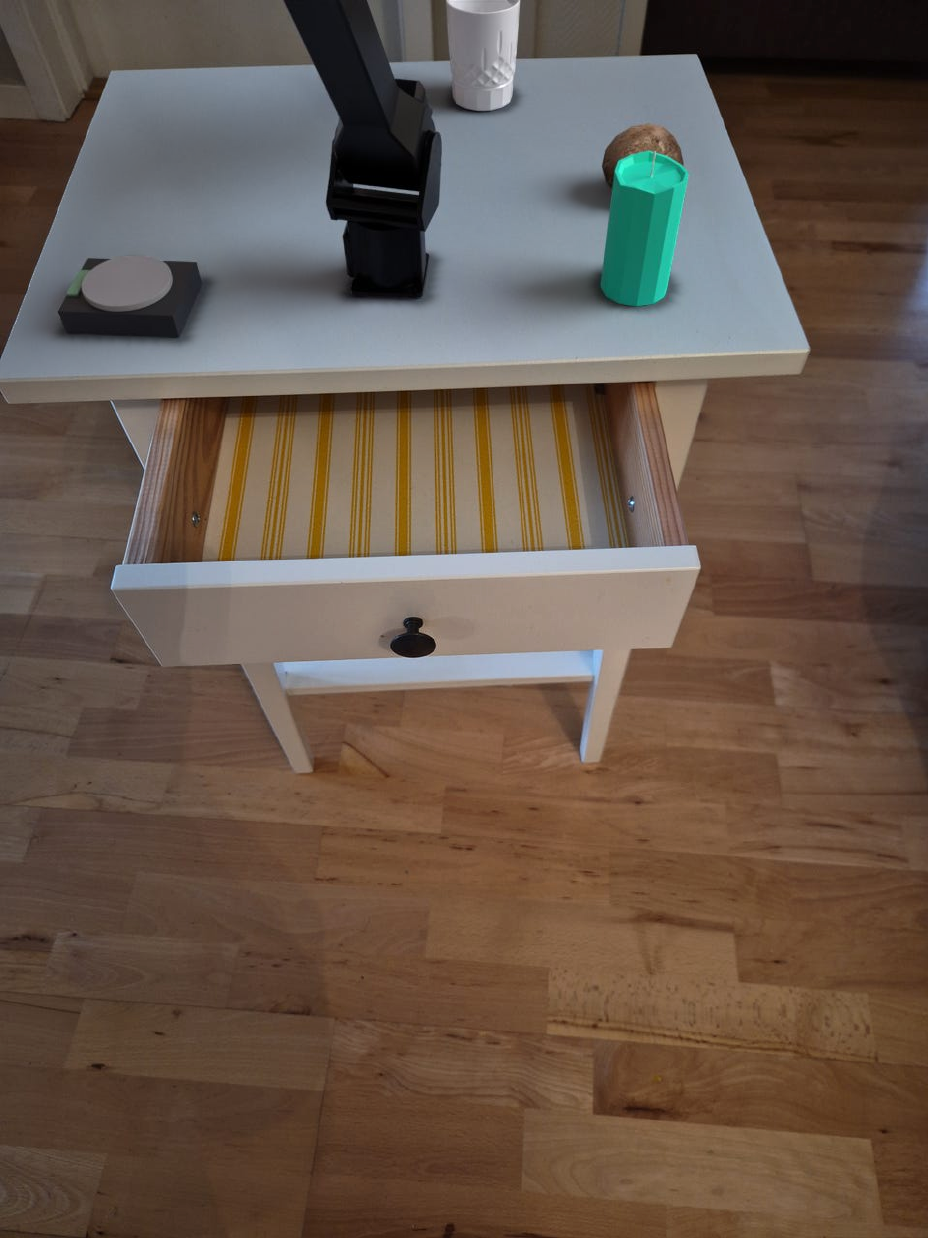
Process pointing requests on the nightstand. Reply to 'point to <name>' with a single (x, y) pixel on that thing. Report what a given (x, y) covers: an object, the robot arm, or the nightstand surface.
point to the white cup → (482, 51)
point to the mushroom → (639, 147)
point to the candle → (642, 227)
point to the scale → (131, 297)
